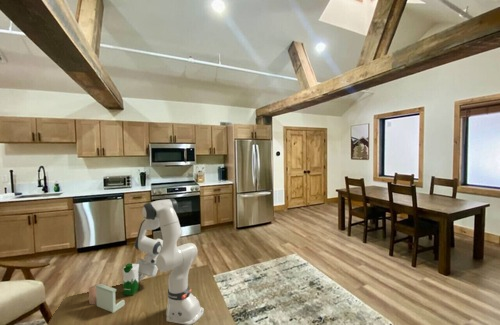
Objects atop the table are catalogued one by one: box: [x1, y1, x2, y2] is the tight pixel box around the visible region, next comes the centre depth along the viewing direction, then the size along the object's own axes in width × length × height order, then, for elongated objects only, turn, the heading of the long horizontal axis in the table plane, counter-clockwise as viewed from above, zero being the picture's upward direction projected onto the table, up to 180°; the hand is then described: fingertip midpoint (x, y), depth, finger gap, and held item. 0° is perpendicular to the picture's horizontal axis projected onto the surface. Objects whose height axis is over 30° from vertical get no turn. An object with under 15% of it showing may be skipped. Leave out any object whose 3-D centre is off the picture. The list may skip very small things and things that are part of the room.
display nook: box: [95, 283, 125, 314], centre depth 140 cm, size 15×8×13 cm, turn 67°
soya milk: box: [121, 262, 140, 296], centre depth 153 cm, size 9×9×20 cm
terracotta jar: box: [88, 284, 97, 305], centre depth 144 cm, size 6×6×9 cm
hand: (138, 280), depth 159 cm, fingers closed
